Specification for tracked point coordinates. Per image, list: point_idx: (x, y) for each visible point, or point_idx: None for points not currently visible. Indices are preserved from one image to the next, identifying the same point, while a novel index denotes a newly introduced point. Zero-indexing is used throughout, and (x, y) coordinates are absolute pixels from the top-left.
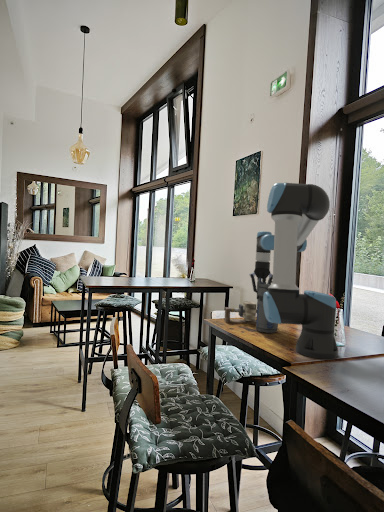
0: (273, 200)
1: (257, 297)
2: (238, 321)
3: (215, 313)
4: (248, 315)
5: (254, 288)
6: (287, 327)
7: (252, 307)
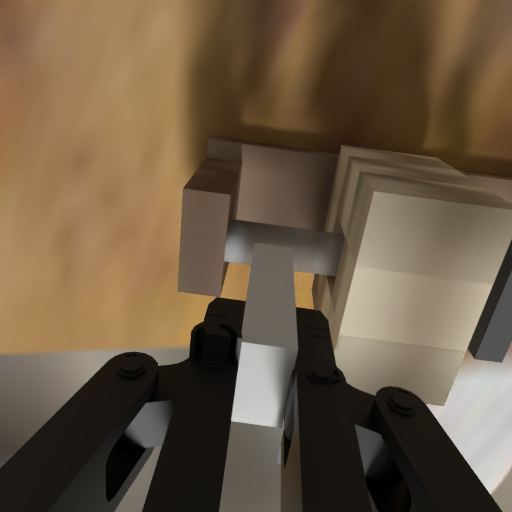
0: None
1: (325, 331)
2: (487, 188)
3: (494, 485)
4: (431, 166)
5: (454, 457)
6: (51, 27)
7: (418, 186)
